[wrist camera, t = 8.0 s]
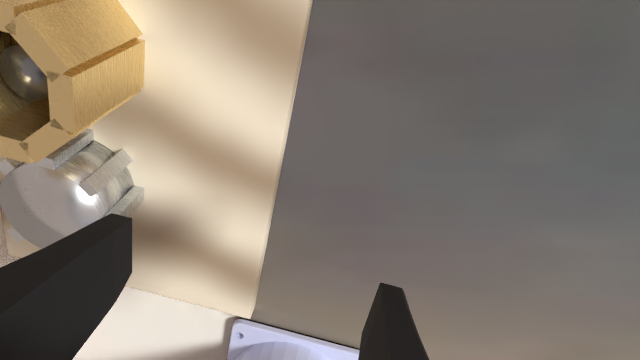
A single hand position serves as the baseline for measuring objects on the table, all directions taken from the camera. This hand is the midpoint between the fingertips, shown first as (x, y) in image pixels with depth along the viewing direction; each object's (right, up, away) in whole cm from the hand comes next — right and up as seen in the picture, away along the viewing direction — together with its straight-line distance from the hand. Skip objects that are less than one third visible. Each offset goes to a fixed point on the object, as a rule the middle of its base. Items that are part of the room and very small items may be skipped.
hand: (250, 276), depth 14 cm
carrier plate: (-7, +6, +9) cm, 12 cm away
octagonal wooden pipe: (-8, +8, +6) cm, 13 cm away
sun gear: (-9, +3, +11) cm, 14 cm away
